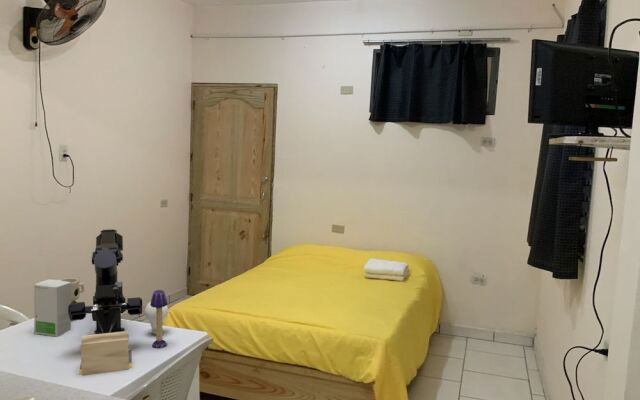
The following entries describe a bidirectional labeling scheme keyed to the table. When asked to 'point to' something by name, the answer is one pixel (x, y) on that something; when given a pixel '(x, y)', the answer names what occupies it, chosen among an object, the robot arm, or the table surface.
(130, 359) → the gray board
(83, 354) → the pine block
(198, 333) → the table surface
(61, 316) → the skincare box
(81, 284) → the character mug
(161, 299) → the toy lamp
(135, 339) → the table surface
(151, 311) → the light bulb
